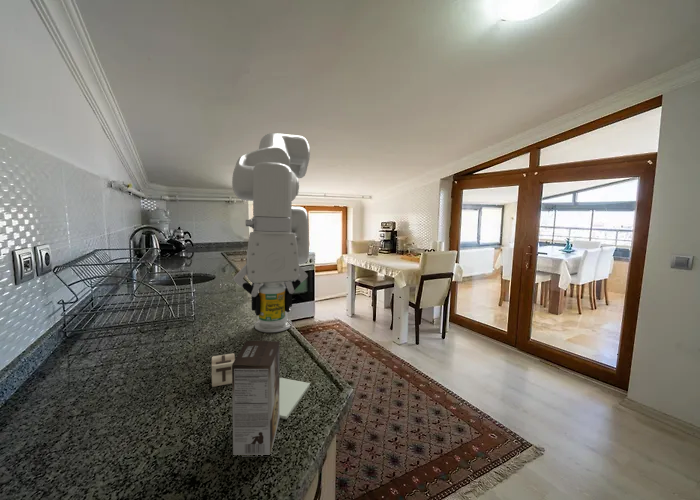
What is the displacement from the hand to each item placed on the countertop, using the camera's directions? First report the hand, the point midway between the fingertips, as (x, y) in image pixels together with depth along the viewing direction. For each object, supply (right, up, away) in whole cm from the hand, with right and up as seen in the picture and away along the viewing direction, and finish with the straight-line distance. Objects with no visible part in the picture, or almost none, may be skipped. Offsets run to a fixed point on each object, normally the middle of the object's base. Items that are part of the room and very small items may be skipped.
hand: (272, 310), depth 62 cm
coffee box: (0, -21, -10) cm, 23 cm away
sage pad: (0, -19, +2) cm, 19 cm away
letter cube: (-14, -18, +8) cm, 24 cm away
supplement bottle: (0, -2, 0) cm, 2 cm away
